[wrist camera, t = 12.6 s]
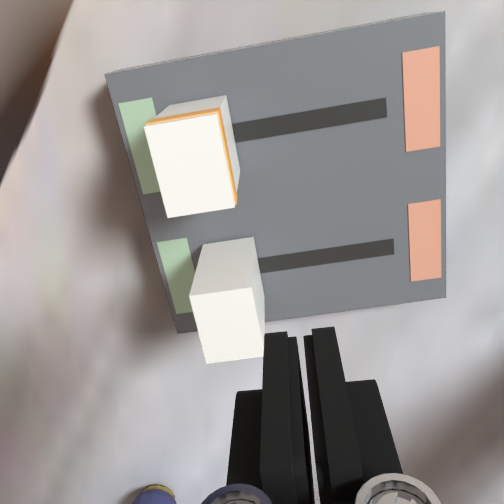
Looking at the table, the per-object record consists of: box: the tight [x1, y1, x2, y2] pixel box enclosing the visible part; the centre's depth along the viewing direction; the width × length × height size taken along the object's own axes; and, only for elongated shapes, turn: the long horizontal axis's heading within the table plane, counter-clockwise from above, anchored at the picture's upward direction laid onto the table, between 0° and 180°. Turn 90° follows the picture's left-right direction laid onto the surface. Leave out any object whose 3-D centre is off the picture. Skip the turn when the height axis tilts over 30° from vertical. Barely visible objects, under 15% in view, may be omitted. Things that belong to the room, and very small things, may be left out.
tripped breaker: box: [144, 95, 240, 218], centre depth 23 cm, size 3×4×6 cm
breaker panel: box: [104, 11, 446, 364], centre depth 26 cm, size 17×16×9 cm
